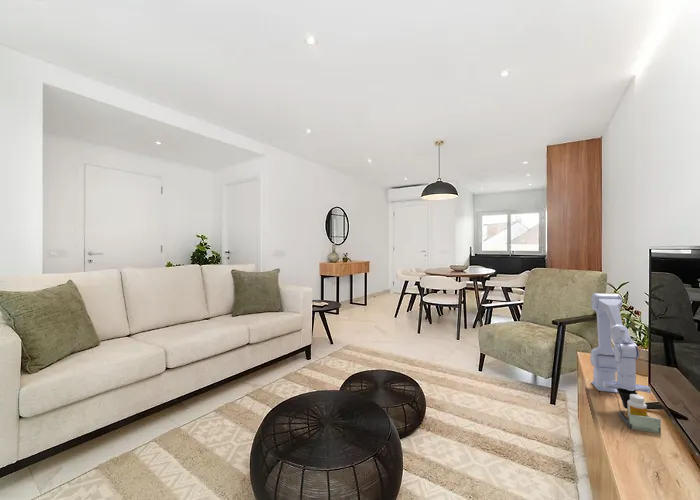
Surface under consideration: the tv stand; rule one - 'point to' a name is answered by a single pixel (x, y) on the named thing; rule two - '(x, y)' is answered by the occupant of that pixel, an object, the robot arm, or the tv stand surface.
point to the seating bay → (642, 423)
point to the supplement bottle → (636, 406)
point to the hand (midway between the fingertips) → (626, 407)
